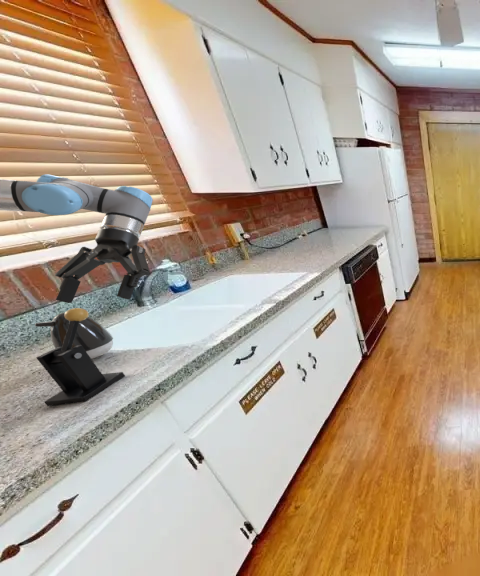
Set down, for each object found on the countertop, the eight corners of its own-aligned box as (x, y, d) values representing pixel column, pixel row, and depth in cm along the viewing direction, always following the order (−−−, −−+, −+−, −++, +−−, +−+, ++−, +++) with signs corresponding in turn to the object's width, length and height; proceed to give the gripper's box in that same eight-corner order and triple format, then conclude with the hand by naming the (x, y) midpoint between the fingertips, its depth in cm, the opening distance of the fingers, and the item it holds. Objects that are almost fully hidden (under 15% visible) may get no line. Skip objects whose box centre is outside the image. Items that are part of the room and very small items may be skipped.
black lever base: (91, 379, 83) (63, 341, 77) (125, 375, 84) (100, 338, 79) (47, 406, 74) (12, 365, 68) (86, 402, 75) (55, 361, 70)
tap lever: (78, 310, 79) (61, 307, 76) (95, 309, 80) (78, 306, 77) (62, 363, 75) (43, 363, 72) (79, 362, 76) (61, 361, 73)
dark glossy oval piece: (59, 362, 90) (24, 318, 84) (110, 343, 98) (83, 303, 93) (74, 368, 86) (39, 323, 80) (126, 348, 95) (98, 307, 89)
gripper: (179, 238, 94) (160, 300, 87) (84, 241, 90) (56, 307, 83) (156, 225, 87) (133, 291, 80) (52, 228, 83) (18, 298, 76)
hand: (94, 299), depth 81 cm, fingers open, 13 cm apart
